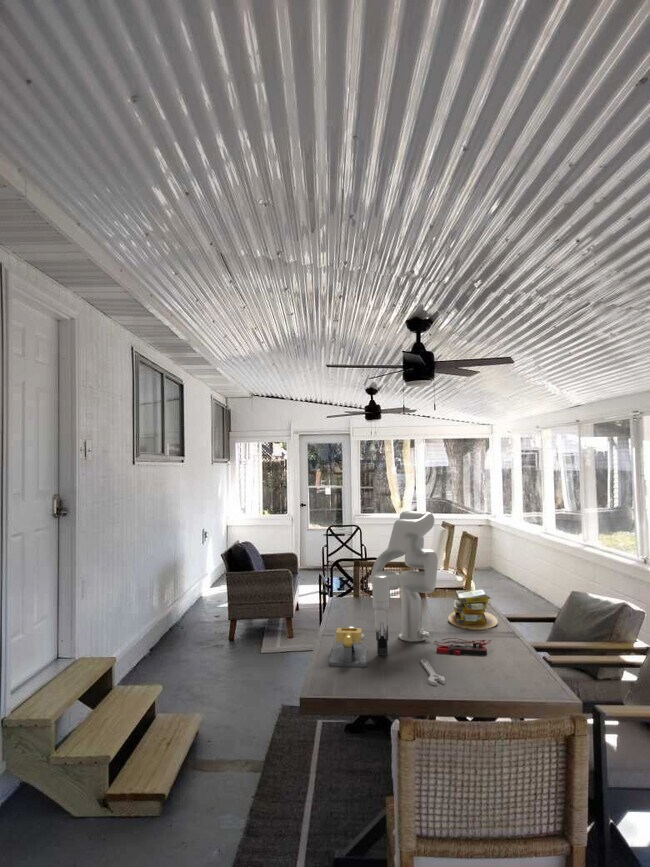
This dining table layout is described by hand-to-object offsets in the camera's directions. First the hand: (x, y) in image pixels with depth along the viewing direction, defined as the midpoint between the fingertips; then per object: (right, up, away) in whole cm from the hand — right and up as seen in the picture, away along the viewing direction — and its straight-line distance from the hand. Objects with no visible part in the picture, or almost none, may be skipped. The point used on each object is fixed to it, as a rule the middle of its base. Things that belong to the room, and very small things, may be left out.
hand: (382, 646), depth 238 cm
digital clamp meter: (+38, -5, +10) cm, 39 cm away
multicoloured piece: (-14, -4, -1) cm, 15 cm away
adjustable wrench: (+18, -3, -21) cm, 28 cm away
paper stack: (+53, -7, +50) cm, 73 cm away
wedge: (0, -3, 0) cm, 3 cm away
